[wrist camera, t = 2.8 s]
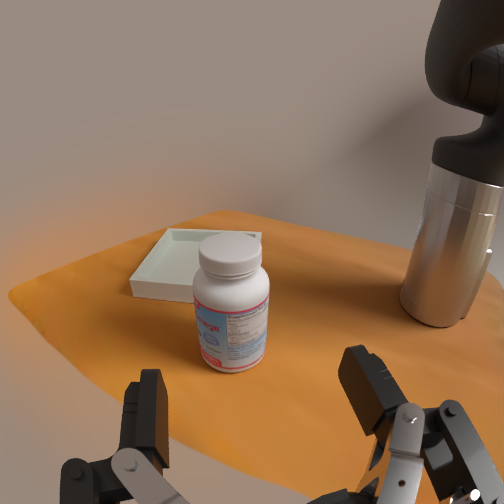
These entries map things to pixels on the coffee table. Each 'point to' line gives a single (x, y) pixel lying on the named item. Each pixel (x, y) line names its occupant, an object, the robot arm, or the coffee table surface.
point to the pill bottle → (231, 301)
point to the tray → (173, 265)
